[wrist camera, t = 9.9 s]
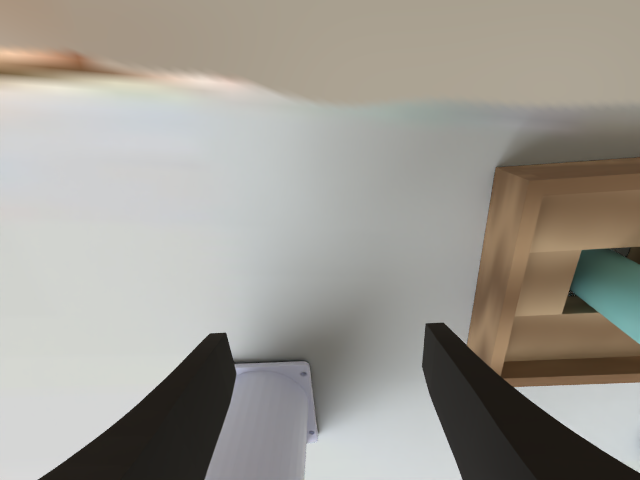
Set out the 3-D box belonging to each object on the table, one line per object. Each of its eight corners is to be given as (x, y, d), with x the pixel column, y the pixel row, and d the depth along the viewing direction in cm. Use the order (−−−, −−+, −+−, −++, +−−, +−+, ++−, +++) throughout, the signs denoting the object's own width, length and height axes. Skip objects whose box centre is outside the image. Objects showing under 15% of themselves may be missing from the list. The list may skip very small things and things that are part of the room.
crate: (658, 344, 23) (707, 379, 20) (465, 351, 23) (485, 387, 20) (755, 149, 17) (845, 159, 14) (495, 167, 18) (529, 180, 15)
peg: (604, 289, 21) (703, 356, 15) (553, 290, 21) (633, 357, 16) (623, 244, 19) (739, 300, 14) (568, 245, 20) (662, 302, 14)
